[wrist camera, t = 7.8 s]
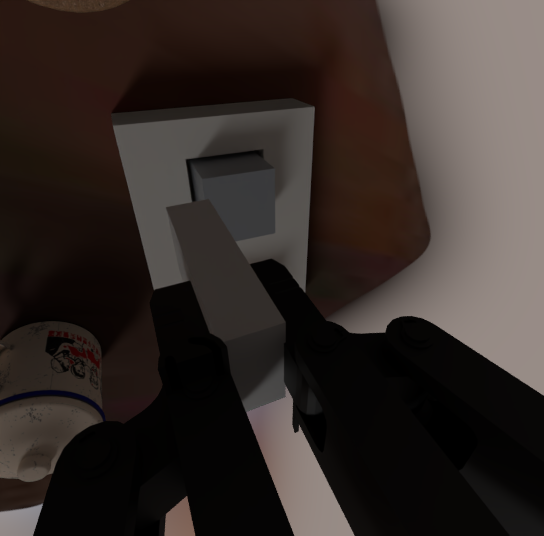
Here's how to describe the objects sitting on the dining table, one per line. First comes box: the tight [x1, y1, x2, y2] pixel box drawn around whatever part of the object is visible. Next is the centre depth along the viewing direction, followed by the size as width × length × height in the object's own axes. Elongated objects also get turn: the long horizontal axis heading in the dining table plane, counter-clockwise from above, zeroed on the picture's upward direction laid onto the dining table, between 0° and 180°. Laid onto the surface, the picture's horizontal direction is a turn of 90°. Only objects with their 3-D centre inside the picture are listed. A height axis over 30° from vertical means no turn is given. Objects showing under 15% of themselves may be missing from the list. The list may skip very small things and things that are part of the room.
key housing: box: [111, 98, 315, 292], centre depth 32 cm, size 22×14×4 cm, turn 1°
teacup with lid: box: [0, 321, 105, 482], centre depth 28 cm, size 12×9×12 cm
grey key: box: [189, 151, 275, 241], centre depth 27 cm, size 5×5×4 cm
